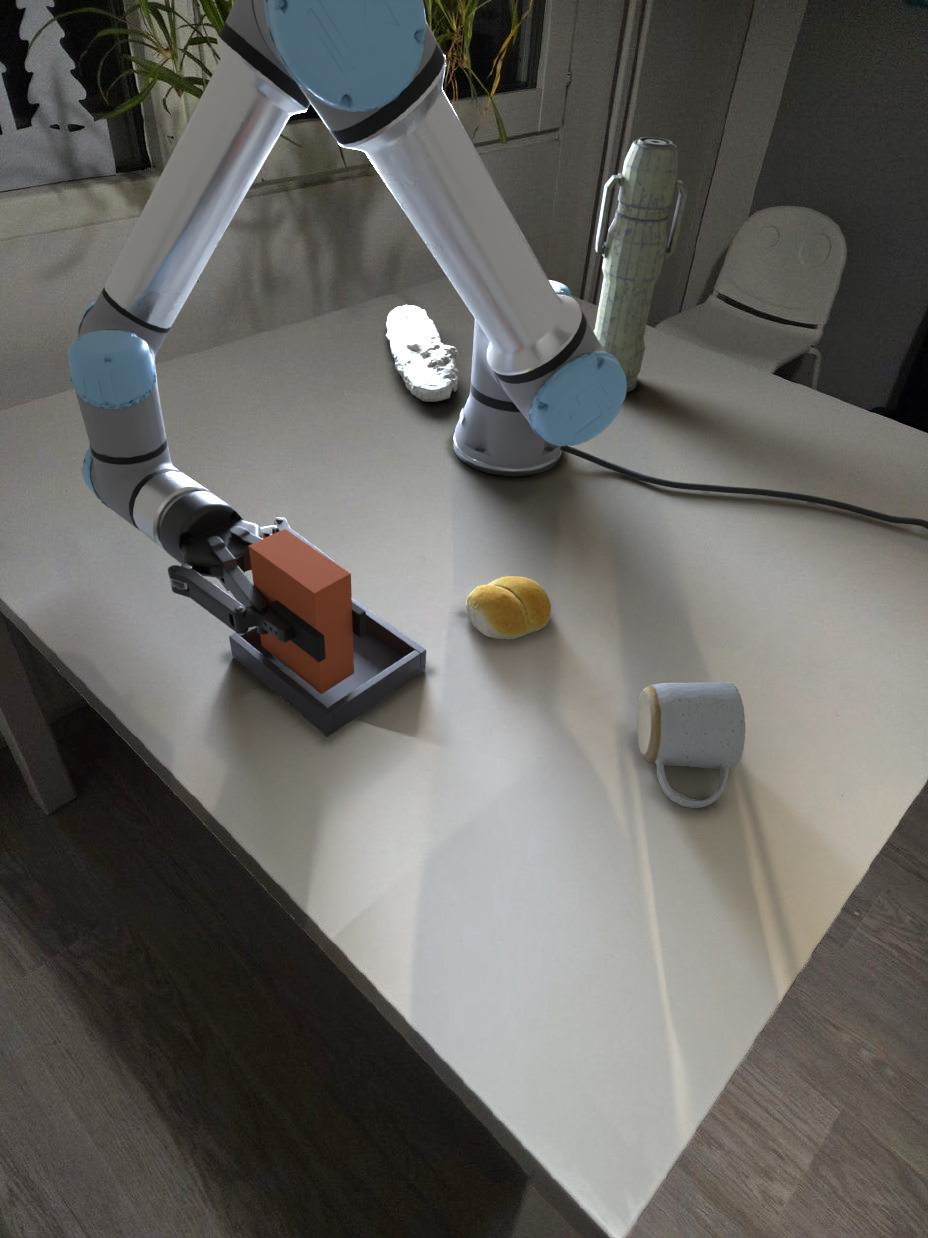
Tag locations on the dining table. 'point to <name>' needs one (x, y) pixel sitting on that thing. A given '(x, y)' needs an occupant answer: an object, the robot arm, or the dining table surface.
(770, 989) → the dining table surface
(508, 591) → the bread roll
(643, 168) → the thermos
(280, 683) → the tray
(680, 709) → the ceramic mug
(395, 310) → the elongated rock
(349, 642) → the reddish orange block
